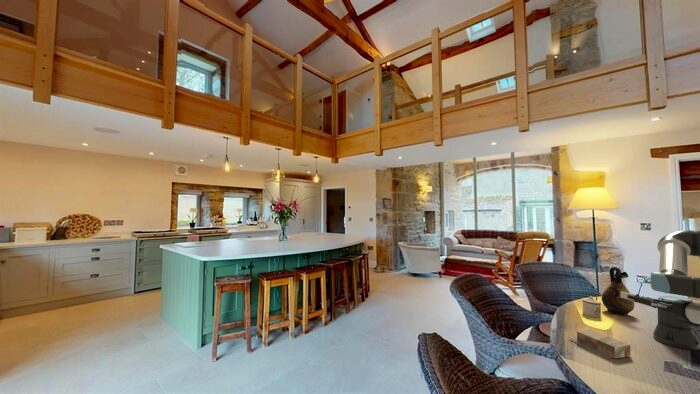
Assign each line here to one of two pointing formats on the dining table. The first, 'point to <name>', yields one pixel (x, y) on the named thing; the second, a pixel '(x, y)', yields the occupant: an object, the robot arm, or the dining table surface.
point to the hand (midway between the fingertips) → (622, 294)
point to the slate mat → (590, 348)
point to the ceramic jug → (617, 294)
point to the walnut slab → (604, 343)
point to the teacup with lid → (591, 307)
